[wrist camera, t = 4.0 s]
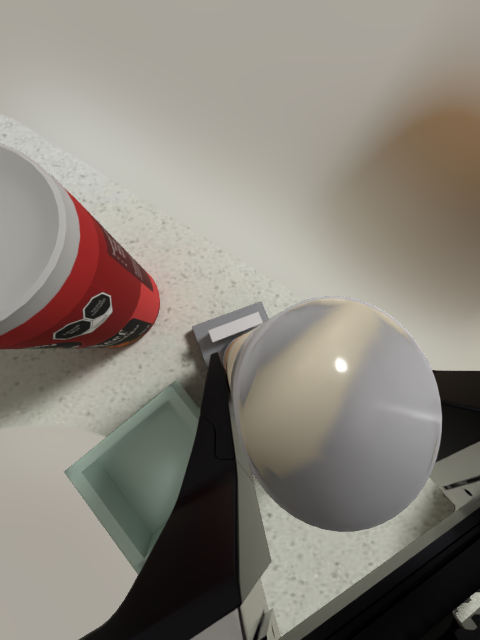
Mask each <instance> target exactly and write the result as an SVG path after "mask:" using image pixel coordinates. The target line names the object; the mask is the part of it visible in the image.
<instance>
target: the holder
mask: <svg viewBox="0 0 480 640" xmlns="http://www.w3.org/2000/svg"><path fill="white" fill-rule="evenodd" d="M267 320H268V316H267V314H266V311H265V309H264V307H263V304H262V302H258V303H255V304H253V305H250V306H247V307H244V308H242V309H239V310H236V311H233V312H231V313H228V314H225V315H223V316H220V317H217V318H214V319H212V320H209V321H206V322H203V323H201V324H198V325H195V326H192V328H193V331H194V333H195V336H196V339H197V342H198V344H199V347H200V350H201V353H202V355H203V358H204V361H205V364H206V366H207V369H208V366H209V361H210V355H211V354H212V353H214V352H218V353H219V355H220V358H221V360H222V363H223V355H224V351H225V349H226V347H227V345H228V344H229V343H230V342H231V341H232V340H234V339H236V338H238V337H240V336H242V335H243V334H246V333H248V332H250V331H252V330H253V329H255V328H257V327H258V326H259V325H260V324H262V323H263V322H265V321H267ZM223 366H224V363H223Z"/></svg>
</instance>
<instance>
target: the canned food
mask: <svg viewBox="0 0 480 640" xmlns="http://www.w3.org/2000/svg"><path fill="white" fill-rule="evenodd" d="M159 309H160V298H159V291H158V289H157V286H156V284H155V282H154V280H153V279H152V277H151V276H150V275H149V274H148V273H147V272H146V271H145V270H144V269H143V268H142V267H141V266H140V265H139V264H138V263H137V262H136V261H135V260H134V259H133V258H132V257H131V256H130V255H129V254H128V252H127V251H126V250H125V249H124V248H123V247H122V246H121V245H120V244H119V243H118V242H117V241H116V240H115V239H114V238H113V237H112V236H111V235H110V234H109V233H108V232H107V231H106V230H105V229H104V228H103V227H102V226H101V225H100V223H99V222H98V221H97V220H96V219H95V218H94V217H93V216H92V215H91V214H90V213H89V212H88V211H87V210H86V209H85V208H84V207H83V206H82V205H81V204H80V203H79V202H78V201H77V200H76V199H75V198H74V197H73V196H72V195H71V194H70V193H69V192H68V191H67V190H66V189H65V188H64V187H63V186H62V185H61V184H60V183H59V182H58V181H57V180H56V179H55V178H54V177H53V176H52V175H50V174H49V173H48V172H46V171H45V170H44V169H43V168H42V167H41V166H40V165H39V164H38V163H37V162H35V161H34V160H32V159H31V158H29V157H28V156H27V155H25V154H24V153H22V152H20V151H18V150H15V149H13V148H11V147H9V146H6V145H4V144H1V143H0V349H49V348H115V347H120V346H124V345H127V344H129V343H132V342H134V341H135V340H137V339H138V338H140V337H142V336H143V335H144V334H145V333H146V332H148V331H149V329H150V328H151V327H152V326H153V324H154V322H155V320H156V318H157V316H158V313H159Z"/></svg>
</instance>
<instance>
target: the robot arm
mask: <svg viewBox="0 0 480 640" xmlns="http://www.w3.org/2000/svg"><path fill="white" fill-rule="evenodd" d="M432 371H433V374H434V377H435V380H436V383H437V387H438V391H439V396H440V401H441V412H442V432H441V440H440V446H439V450H438V455H437V459H436V461H435V464H434V467H433V469H432V472H431V474H430V476H429V477H430V478H431V480H432V481H433V482H434V483H435V484H436V485H437V486H438V487H439V488H440V489H441V490H442V491H443V492H444V494H445V495H446V496H447V497H448V498H449V499H450V500H451V502H452V503H453V504H454V505H455V506H456V507H457V508H458V510H456V511H455V512H454V513H452V514H451V515H449V516H448V517H447V518H445V519H444V520H443V521H441V522H440V523H438V524H437V525H436V526H434V527H433V528H431V529H430V530H429V531H427V532H426V533H425V534H423V535H422V536H420V537H419V538H418V539H416V540H415V541H413V542H412V543H411V544H409V545H408V546H407V547H405V548H404V549H402V550H401V551H400V552H398V553H397V554H395V555H394V556H393V557H391V558H390V559H389V560H387V561H386V562H384V563H383V564H382V565H380V566H379V567H377V568H376V569H375V570H373V571H372V572H371V573H369V574H368V575H366V576H365V577H364V578H362V579H361V580H359V581H358V582H357V583H355V584H354V585H353V586H351V587H350V588H348V589H347V590H346V591H344V592H343V593H341V594H340V595H339V596H337V597H336V598H335V599H333V600H332V601H330V602H329V603H328V604H326V605H325V606H323V607H322V608H321V609H319V610H318V611H316V612H315V613H314V614H312V615H311V616H310V617H308V618H307V619H305V620H304V621H303V622H301V623H300V624H298V625H297V626H296V627H294V628H293V629H292V630H290V631H289V632H287V633H286V634H285V635H283V636H282V637H281V636H280V633H279V629H278V625H277V621H276V618H275V614H274V610H273V608H272V609H271V610H270V611H269V610H268V606H267V602H266V598H265V594H264V590H263V586H262V582H261V578H260V577H261V576H262V574H263V573H264V571H265V570H266V568H267V567H268V565H269V564H270V563H271V557H270V553H269V548H268V544H267V540H266V535H265V531H264V527H263V522H262V518H261V514H260V509H259V505H258V500H257V496H256V492H255V487H254V484H253V479H252V474H251V470H250V466H249V464H248V461H247V459H246V457H245V454H244V452H243V448H242V445H241V441H240V438H239V434H238V429H237V424H236V420H235V415H234V410H233V406H232V399H231V390H230V386H229V382H228V377H227V374H226V371H225V368H224V366H223V363H222V360H221V358H220V355H219V353H218V352H214V353H212V354H211V355H210V361H209V366H208V372H207V377H206V383H205V388H204V394H203V399H202V405H201V410H200V416H199V421H198V426H197V431H196V436H195V440H194V443H193V447H192V451H191V454H190V458H189V461H188V465H187V468H186V472H185V475H184V478H183V482H182V485H181V489H180V492H179V495H178V498H177V501H176V503H175V506H174V508H173V510H172V512H171V514H170V516H169V518H168V520H167V522H166V524H165V526H164V528H163V529H162V531H161V533H160V535H159V537H158V539H157V541H156V543H155V544H154V546H153V548H152V550H151V552H150V554H149V556H148V558H147V559H146V561H145V563H144V565H143V567H142V569H141V571H140V573H139V574H138V576H137V578H136V580H135V582H134V584H133V586H132V588H131V589H130V591H129V593H128V595H127V596H126V598H125V600H124V601H123V602H122V604H121V605H120V607H119V608H118V609H117V611H116V612H115V613H114V614H113V615H112V617H111V618H110V619H109V620H108V621H107V622H106V623H104V624H103V625H102V626H100V627H99V628H97V629H95V630H94V631H92V632H90V633H89V634H87V635H85V636H84V637H82V638H81V639H79V640H480V608H479V609H477V610H476V611H475V612H474V613H473V614H472V615H470V616H469V617H468V618H467V619H466V620H465V621H464V622H462V623H461V622H460V620H459V619H458V617H457V616H456V615H455V613H457V612H458V610H457V607H458V606H460V605H461V604H462V603H468V602H469V601H471V599H470V598H469V597H470V596H471V595H473V594H474V593H475V592H480V371H436V370H432Z"/></svg>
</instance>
